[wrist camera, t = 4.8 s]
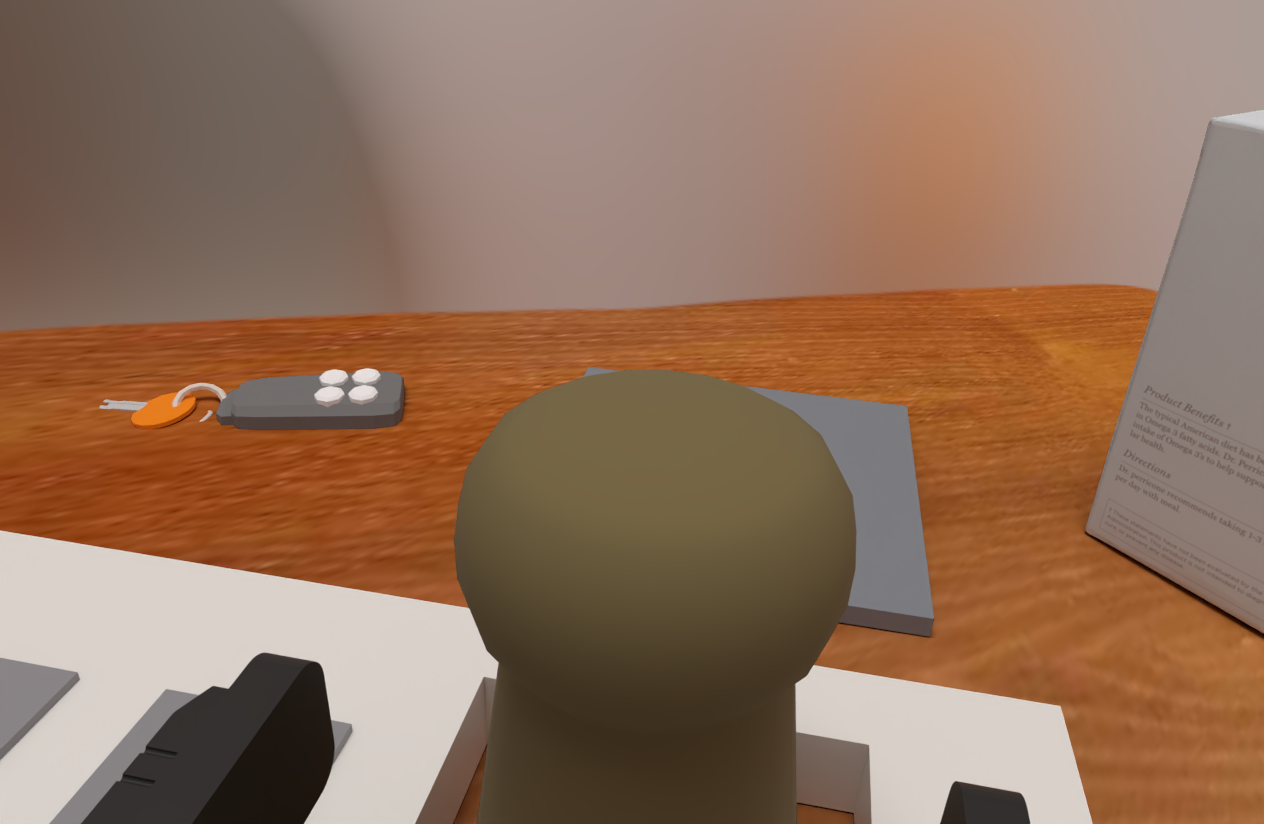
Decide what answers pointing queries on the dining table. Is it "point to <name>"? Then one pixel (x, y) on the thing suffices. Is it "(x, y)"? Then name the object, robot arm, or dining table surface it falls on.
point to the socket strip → (415, 697)
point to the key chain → (286, 403)
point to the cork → (650, 598)
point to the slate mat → (873, 506)
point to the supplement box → (1201, 393)
